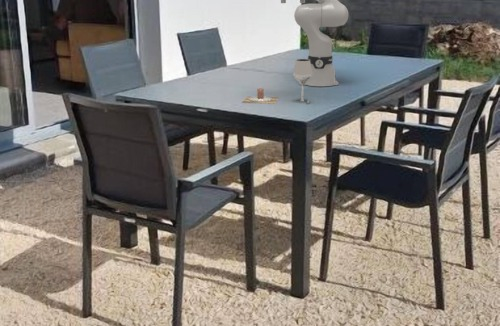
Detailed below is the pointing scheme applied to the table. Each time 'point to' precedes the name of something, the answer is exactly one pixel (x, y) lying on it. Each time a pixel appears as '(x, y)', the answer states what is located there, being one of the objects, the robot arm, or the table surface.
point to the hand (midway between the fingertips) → (292, 3)
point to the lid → (260, 97)
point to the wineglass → (302, 73)
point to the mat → (261, 102)
